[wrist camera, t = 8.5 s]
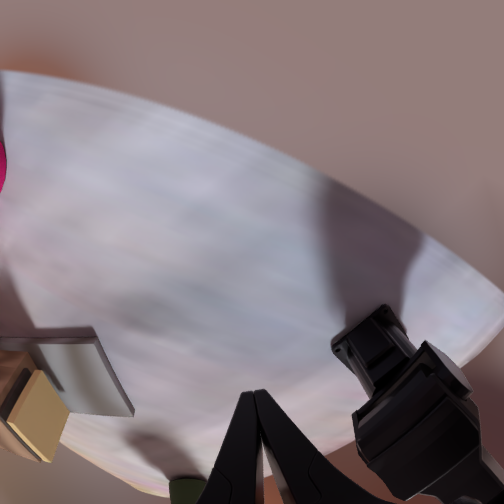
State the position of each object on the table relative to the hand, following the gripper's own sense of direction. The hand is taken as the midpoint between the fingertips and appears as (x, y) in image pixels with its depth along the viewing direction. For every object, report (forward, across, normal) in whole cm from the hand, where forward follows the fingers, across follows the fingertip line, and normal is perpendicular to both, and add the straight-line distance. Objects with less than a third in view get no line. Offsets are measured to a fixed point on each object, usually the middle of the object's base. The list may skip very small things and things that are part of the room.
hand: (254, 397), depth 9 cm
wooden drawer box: (+12, +22, +10) cm, 27 cm away
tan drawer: (+9, +25, +10) cm, 28 cm away
